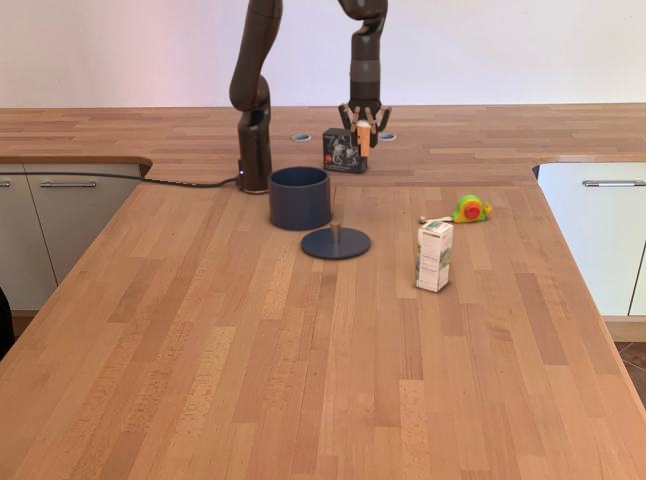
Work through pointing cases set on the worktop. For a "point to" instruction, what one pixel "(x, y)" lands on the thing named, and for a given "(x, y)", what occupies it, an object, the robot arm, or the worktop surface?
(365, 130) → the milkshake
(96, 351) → the worktop surface
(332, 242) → the tin lid
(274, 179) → the tin
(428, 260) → the syrup box
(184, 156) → the worktop surface
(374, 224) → the worktop surface
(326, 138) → the small box
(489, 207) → the toy measuring tape
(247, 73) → the robot arm
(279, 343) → the worktop surface
